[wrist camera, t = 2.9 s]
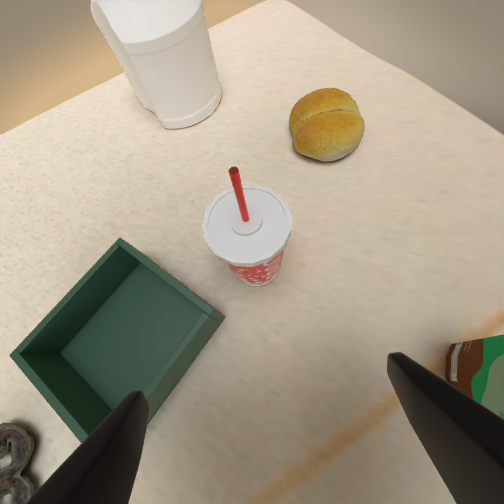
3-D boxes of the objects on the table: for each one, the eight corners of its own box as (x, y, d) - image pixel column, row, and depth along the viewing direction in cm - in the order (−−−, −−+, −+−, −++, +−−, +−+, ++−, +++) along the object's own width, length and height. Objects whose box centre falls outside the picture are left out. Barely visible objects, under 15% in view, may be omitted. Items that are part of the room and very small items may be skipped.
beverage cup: (245, 306, 24) (204, 251, 11) (216, 254, 26) (154, 158, 13) (300, 273, 24) (324, 184, 11) (267, 226, 27) (256, 106, 14)
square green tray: (135, 441, 21) (98, 464, 16) (55, 354, 24) (8, 355, 20) (225, 316, 24) (214, 309, 19) (144, 254, 27) (119, 237, 23)
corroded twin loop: (-19, 553, 19) (-35, 564, 18) (-18, 434, 22) (-32, 438, 21) (45, 522, 19) (33, 531, 18) (38, 409, 22) (26, 412, 21)
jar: (233, 100, 34) (201, -73, 20) (176, 139, 32) (98, -19, 19) (186, 63, 38) (133, -102, 24) (133, 97, 36) (43, -60, 23)
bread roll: (296, 169, 29) (299, 143, 25) (285, 113, 32) (286, 83, 28) (370, 159, 28) (383, 130, 25) (351, 103, 32) (360, 70, 28)
